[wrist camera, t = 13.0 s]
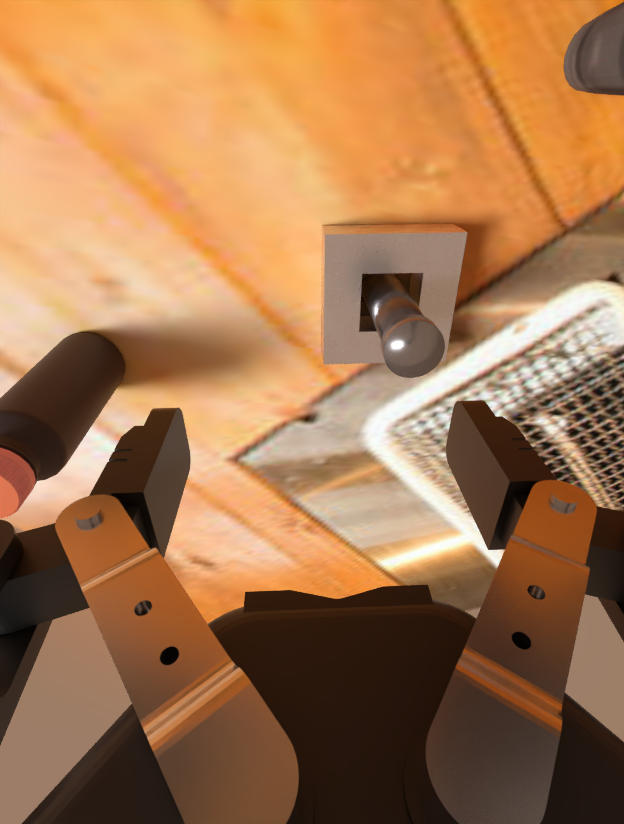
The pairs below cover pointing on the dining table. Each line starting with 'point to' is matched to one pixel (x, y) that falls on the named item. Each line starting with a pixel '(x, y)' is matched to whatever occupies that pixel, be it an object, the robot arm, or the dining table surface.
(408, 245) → the block
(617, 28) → the beverage cup
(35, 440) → the bottle
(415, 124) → the dining table surface
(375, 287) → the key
